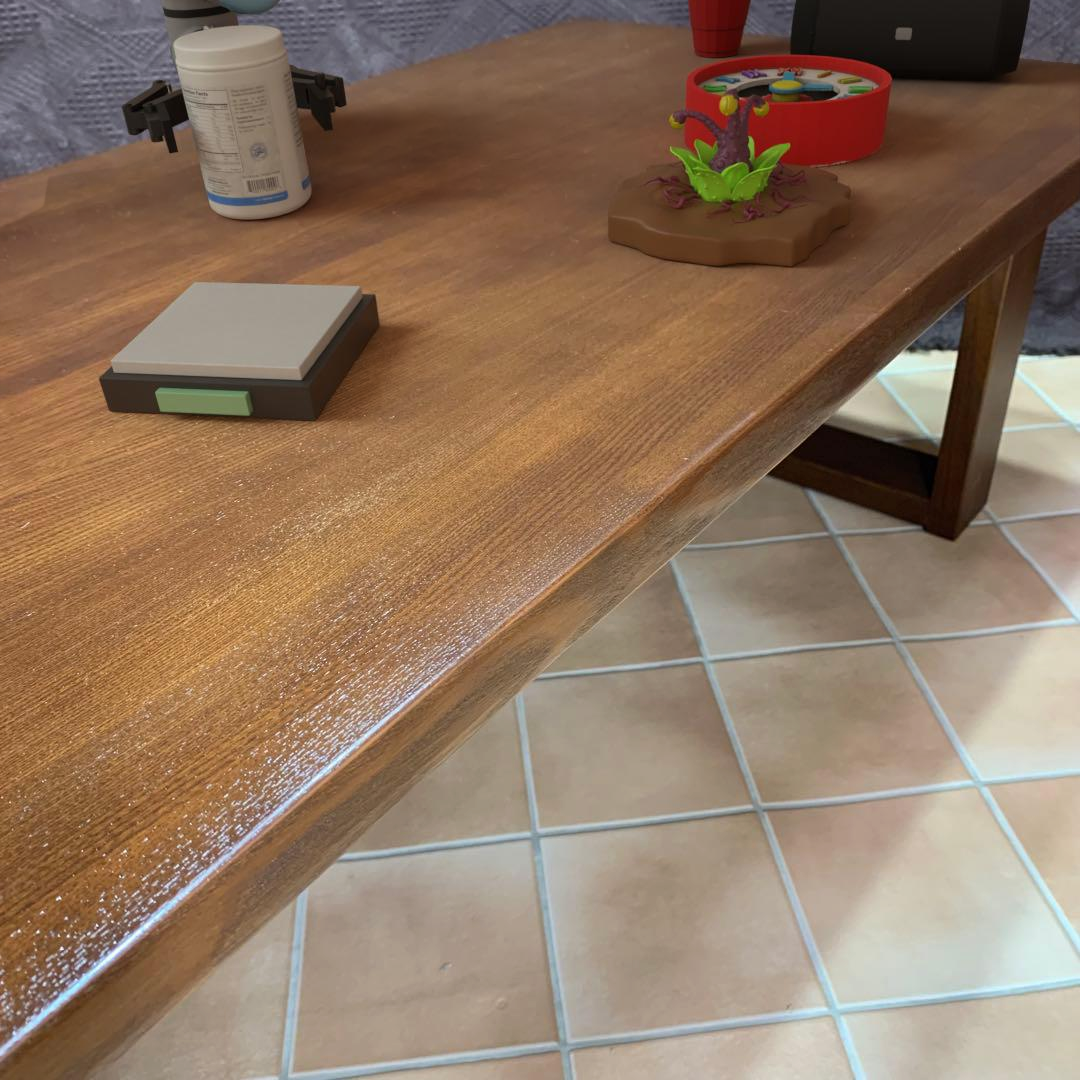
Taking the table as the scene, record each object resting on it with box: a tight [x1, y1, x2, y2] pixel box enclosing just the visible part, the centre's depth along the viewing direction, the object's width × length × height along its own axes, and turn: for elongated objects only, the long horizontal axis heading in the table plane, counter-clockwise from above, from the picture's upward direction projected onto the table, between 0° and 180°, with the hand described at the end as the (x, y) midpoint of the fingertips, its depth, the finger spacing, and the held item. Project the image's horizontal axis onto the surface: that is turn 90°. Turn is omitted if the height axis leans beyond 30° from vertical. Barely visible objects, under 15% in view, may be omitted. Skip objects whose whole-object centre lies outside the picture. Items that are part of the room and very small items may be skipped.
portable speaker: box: [789, 0, 1031, 81], centre depth 126 cm, size 26×10×10 cm, turn 70°
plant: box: [607, 88, 852, 268], centre depth 88 cm, size 20×20×11 cm
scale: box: [98, 281, 381, 421], centre depth 72 cm, size 14×15×3 cm
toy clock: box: [684, 54, 893, 168], centre depth 109 cm, size 20×6×20 cm
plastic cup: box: [687, 0, 752, 58], centre depth 139 cm, size 11×11×12 cm
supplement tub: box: [173, 24, 312, 221], centre depth 97 cm, size 10×10×15 cm
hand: (249, 125), depth 94 cm, fingers open, 13 cm apart
